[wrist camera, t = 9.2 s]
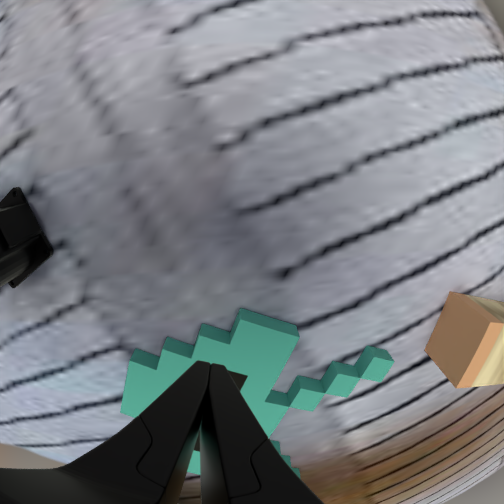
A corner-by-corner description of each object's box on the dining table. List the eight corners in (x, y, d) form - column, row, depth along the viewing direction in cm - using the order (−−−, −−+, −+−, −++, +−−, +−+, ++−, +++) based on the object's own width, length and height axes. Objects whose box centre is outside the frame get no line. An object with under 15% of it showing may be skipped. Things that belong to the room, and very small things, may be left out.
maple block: (455, 388, 19) (528, 379, 20) (490, 322, 17) (554, 328, 18) (424, 350, 25) (499, 352, 26) (449, 291, 23) (521, 305, 24)
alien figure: (384, 347, 25) (154, 275, 22) (394, 361, 23) (146, 286, 20) (289, 474, 30) (120, 434, 27) (291, 488, 28) (115, 448, 25)
